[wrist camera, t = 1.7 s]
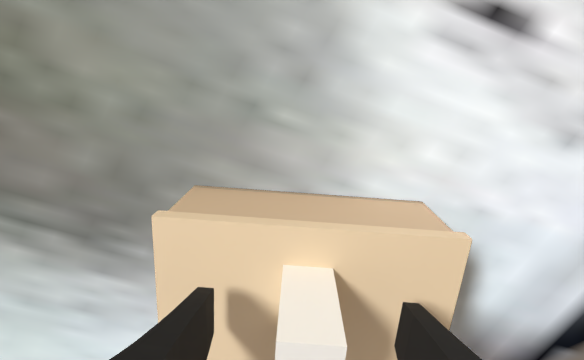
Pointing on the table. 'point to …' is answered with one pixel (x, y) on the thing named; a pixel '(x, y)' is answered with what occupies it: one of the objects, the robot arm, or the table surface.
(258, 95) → the table surface
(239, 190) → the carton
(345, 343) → the lid
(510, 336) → the table surface
